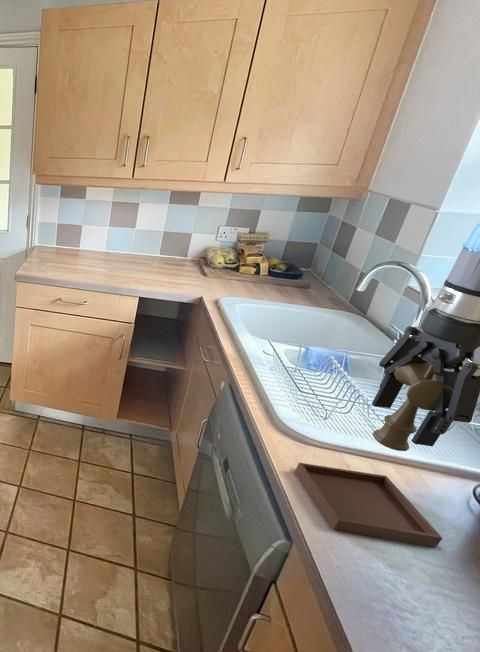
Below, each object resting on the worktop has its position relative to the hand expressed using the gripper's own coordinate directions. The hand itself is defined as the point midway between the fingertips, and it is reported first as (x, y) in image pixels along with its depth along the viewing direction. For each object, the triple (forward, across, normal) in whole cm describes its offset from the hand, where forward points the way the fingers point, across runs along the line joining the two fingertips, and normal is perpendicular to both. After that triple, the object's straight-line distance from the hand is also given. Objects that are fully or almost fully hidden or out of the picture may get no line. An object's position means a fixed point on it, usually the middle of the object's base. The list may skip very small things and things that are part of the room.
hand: (400, 423), depth 76 cm
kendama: (+5, 0, 0) cm, 5 cm away
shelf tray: (+18, +3, -2) cm, 19 cm away
